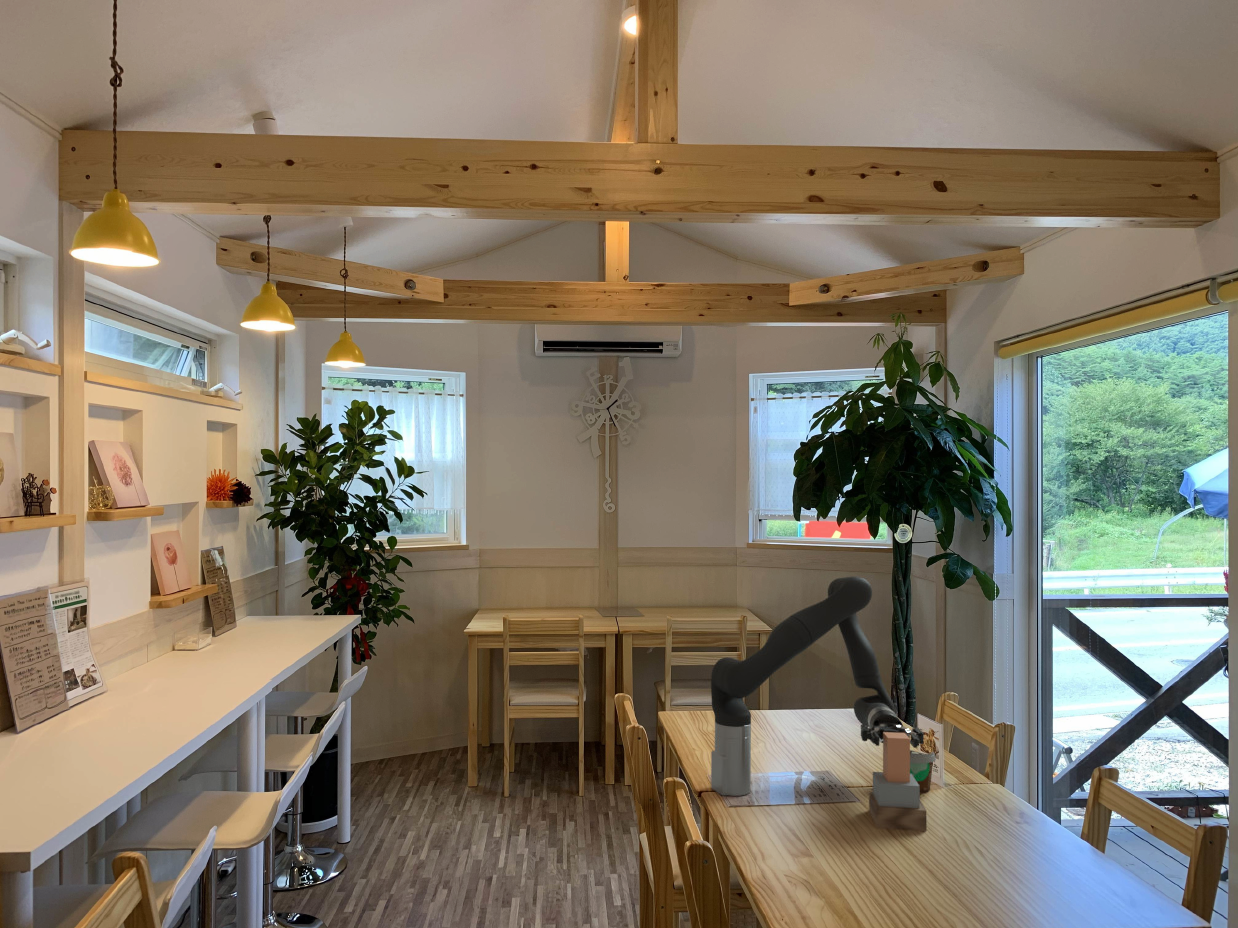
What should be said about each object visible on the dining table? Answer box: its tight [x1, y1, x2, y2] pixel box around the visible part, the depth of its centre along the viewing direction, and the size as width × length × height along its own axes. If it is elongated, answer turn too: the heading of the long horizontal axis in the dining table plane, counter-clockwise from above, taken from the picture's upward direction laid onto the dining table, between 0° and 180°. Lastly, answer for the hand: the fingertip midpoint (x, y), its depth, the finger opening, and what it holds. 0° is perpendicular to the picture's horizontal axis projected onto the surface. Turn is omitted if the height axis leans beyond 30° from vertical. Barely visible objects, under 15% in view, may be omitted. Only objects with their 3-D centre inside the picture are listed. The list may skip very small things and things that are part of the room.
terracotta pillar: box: [882, 732, 911, 782], centre depth 202 cm, size 5×5×10 cm
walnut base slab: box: [868, 791, 928, 832], centre depth 201 cm, size 11×11×5 cm
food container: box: [910, 749, 937, 794], centre depth 222 cm, size 12×6×10 cm, turn 62°
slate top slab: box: [872, 771, 921, 808], centre depth 201 cm, size 9×9×5 cm
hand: (896, 742), depth 201 cm, fingers open, 8 cm apart
